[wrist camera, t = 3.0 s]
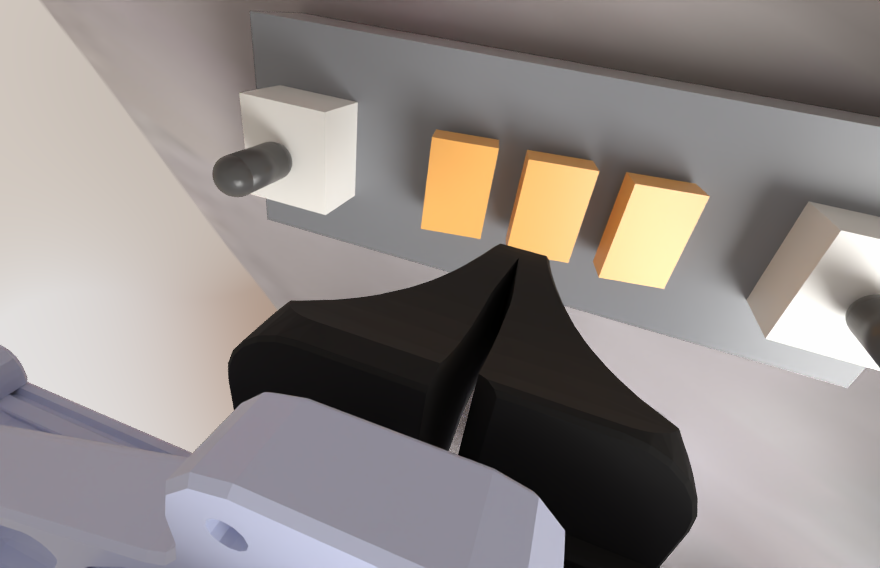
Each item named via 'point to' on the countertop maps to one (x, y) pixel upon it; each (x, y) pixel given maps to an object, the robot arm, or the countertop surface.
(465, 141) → the switch
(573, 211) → the middle switch
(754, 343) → the power strip
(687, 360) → the countertop surface
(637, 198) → the switch
